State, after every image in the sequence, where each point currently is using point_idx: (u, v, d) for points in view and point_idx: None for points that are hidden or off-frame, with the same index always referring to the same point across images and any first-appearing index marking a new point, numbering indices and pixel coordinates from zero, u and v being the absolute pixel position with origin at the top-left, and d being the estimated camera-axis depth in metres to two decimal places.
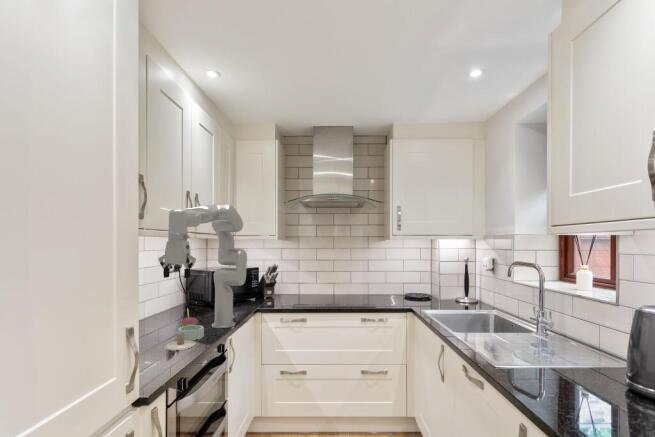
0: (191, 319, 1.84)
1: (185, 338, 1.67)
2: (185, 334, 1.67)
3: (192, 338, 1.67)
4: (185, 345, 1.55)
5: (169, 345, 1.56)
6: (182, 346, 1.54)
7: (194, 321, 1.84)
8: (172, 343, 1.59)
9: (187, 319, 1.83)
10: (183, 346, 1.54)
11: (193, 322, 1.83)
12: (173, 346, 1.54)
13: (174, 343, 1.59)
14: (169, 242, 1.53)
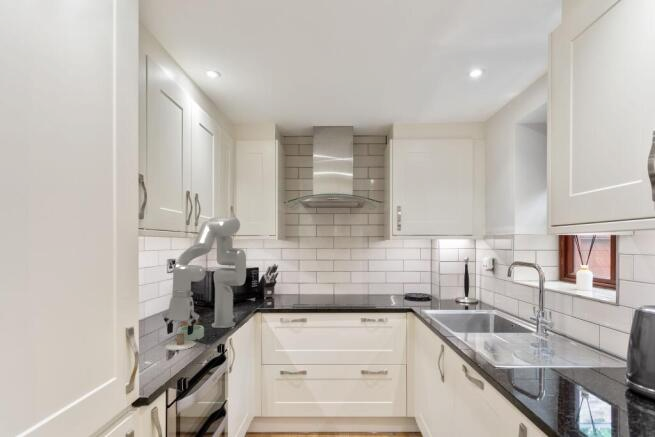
0: None
1: (185, 338, 1.67)
2: (185, 334, 1.67)
3: (192, 338, 1.67)
4: (185, 345, 1.55)
5: (169, 345, 1.56)
6: (182, 346, 1.54)
7: None
8: (172, 343, 1.59)
9: None
10: (183, 346, 1.54)
11: None
12: (173, 346, 1.54)
13: (174, 343, 1.59)
14: (173, 299, 1.57)
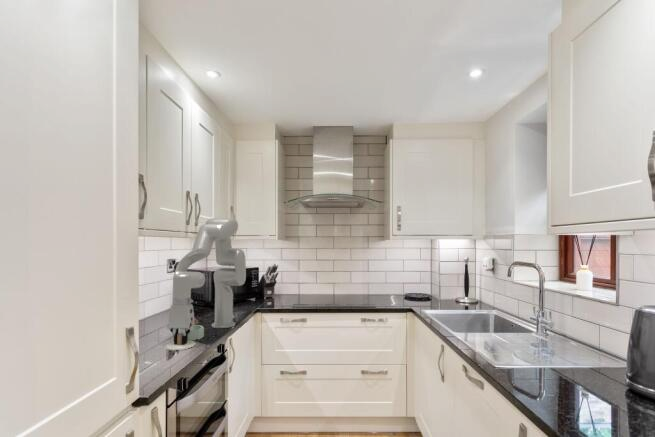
0: None
1: None
2: None
3: (192, 338, 1.67)
4: (185, 345, 1.55)
5: (169, 345, 1.56)
6: (182, 346, 1.54)
7: (194, 321, 1.84)
8: (172, 343, 1.59)
9: None
10: (183, 346, 1.54)
11: None
12: (173, 346, 1.54)
13: None
14: (173, 307, 1.57)
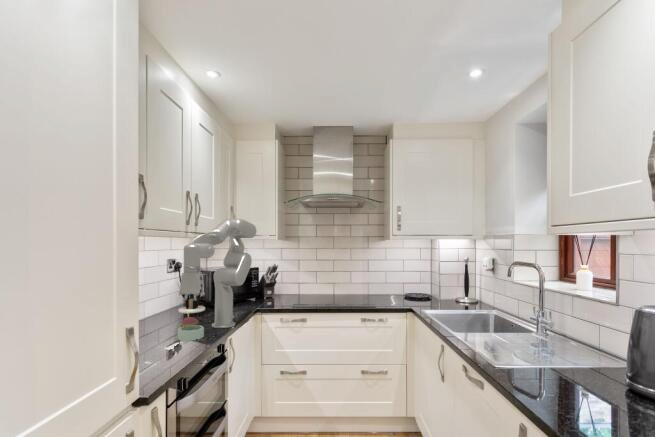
0: (191, 319, 1.84)
1: (185, 338, 1.67)
2: (185, 334, 1.67)
3: (192, 338, 1.67)
4: (196, 309, 1.70)
5: (181, 309, 1.70)
6: (193, 309, 1.69)
7: (194, 321, 1.84)
8: (184, 307, 1.73)
9: (187, 319, 1.83)
10: (194, 309, 1.69)
11: (193, 322, 1.83)
12: (185, 310, 1.68)
13: None
14: (184, 274, 1.71)
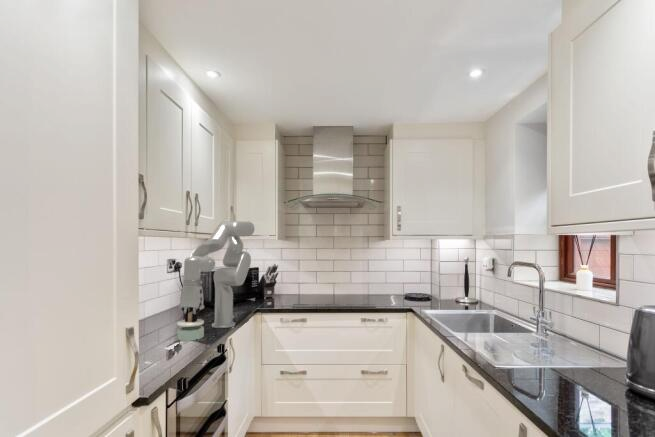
0: None
1: (185, 338, 1.67)
2: (185, 334, 1.67)
3: (192, 338, 1.67)
4: (195, 323, 1.70)
5: (180, 322, 1.70)
6: (192, 323, 1.69)
7: None
8: (183, 321, 1.73)
9: None
10: (193, 323, 1.69)
11: None
12: (184, 323, 1.68)
13: None
14: (184, 287, 1.71)
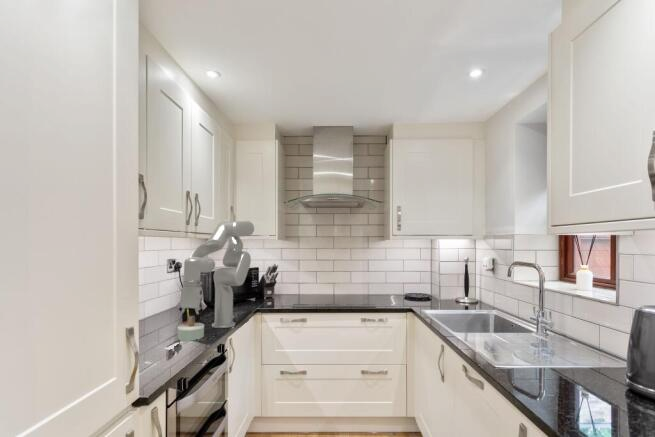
0: None
1: (185, 338, 1.67)
2: (185, 334, 1.67)
3: (192, 338, 1.67)
4: (195, 327, 1.70)
5: (181, 326, 1.70)
6: (193, 327, 1.69)
7: None
8: (183, 325, 1.73)
9: (187, 319, 1.83)
10: (193, 327, 1.69)
11: None
12: (184, 327, 1.68)
13: (185, 325, 1.73)
14: (184, 288, 1.71)
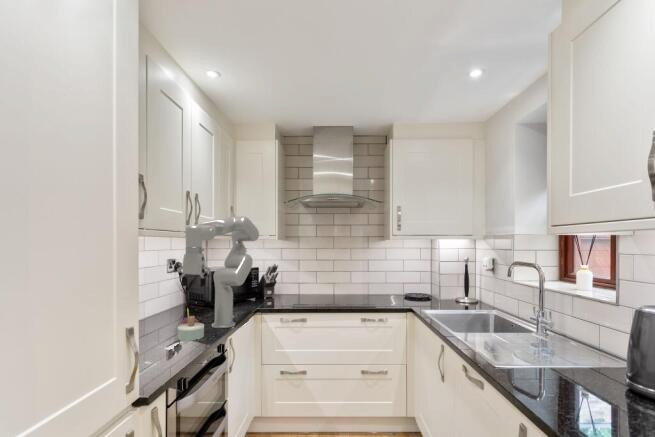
0: None
1: (185, 338, 1.67)
2: (185, 334, 1.67)
3: (192, 338, 1.67)
4: (195, 327, 1.70)
5: (181, 326, 1.70)
6: (193, 327, 1.69)
7: None
8: (183, 325, 1.73)
9: (187, 319, 1.83)
10: (193, 327, 1.69)
11: None
12: (184, 327, 1.68)
13: (185, 325, 1.73)
14: (186, 255, 1.73)
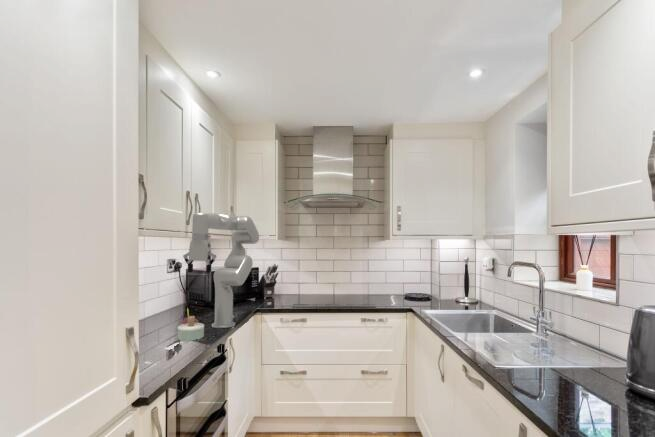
0: None
1: (185, 338, 1.67)
2: (185, 334, 1.67)
3: (192, 338, 1.67)
4: (195, 327, 1.70)
5: (181, 326, 1.70)
6: (193, 327, 1.69)
7: None
8: (183, 325, 1.73)
9: (187, 319, 1.83)
10: (193, 327, 1.69)
11: None
12: (184, 327, 1.68)
13: (185, 325, 1.73)
14: (193, 241, 1.75)
